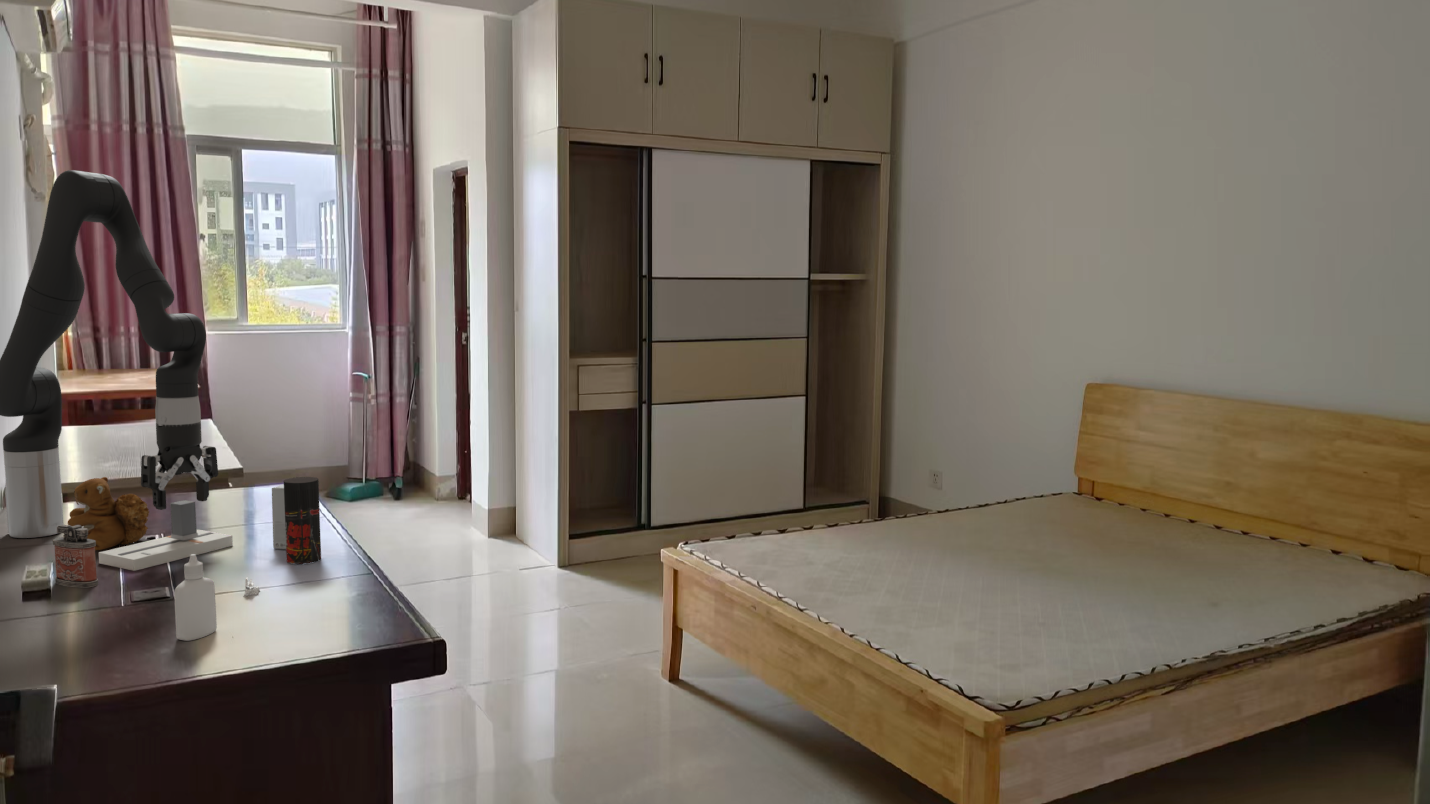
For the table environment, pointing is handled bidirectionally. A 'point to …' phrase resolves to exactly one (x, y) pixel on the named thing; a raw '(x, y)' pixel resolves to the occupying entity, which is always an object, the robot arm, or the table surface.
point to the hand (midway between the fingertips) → (181, 504)
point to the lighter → (75, 557)
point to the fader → (183, 520)
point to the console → (163, 550)
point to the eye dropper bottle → (195, 603)
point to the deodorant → (302, 520)
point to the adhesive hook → (250, 588)
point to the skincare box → (278, 517)
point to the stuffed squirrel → (108, 514)
